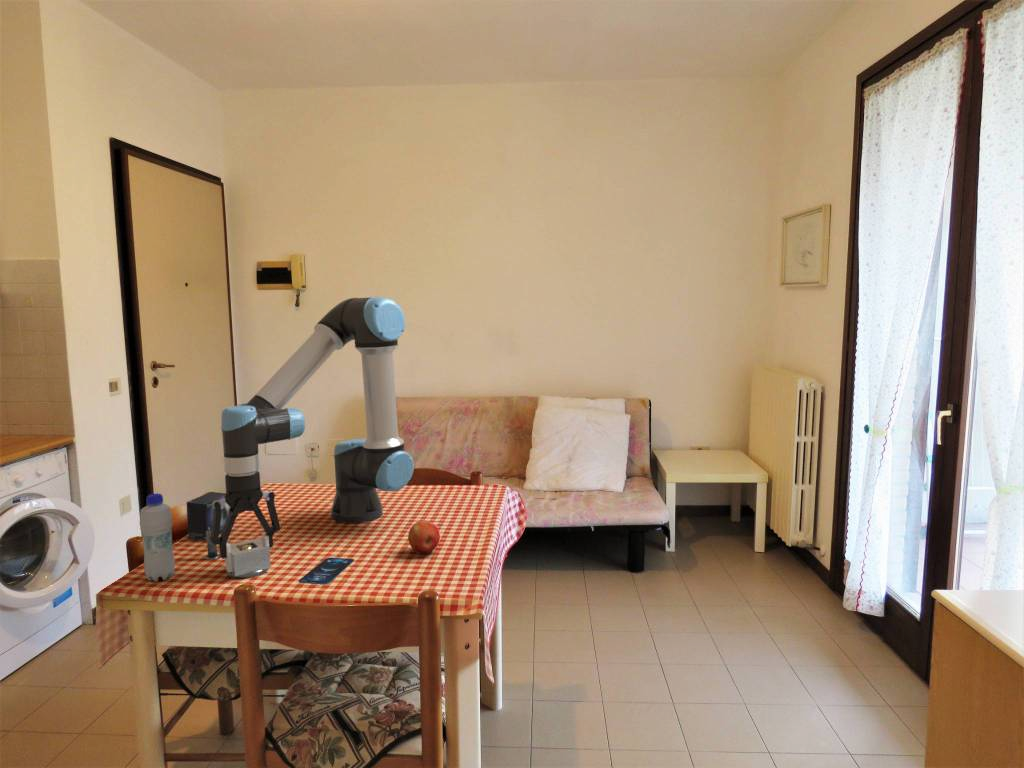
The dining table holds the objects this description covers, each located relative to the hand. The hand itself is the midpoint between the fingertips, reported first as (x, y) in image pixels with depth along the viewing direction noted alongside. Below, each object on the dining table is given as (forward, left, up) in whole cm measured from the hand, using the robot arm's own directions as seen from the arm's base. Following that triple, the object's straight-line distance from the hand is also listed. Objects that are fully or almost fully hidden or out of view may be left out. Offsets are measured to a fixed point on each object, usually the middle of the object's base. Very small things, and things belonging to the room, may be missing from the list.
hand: (248, 565), depth 155 cm
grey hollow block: (0, 0, 0) cm, 0 cm away
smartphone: (-19, +1, -2) cm, 19 cm away
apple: (-41, -9, -2) cm, 42 cm away
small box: (+20, -27, -2) cm, 34 cm away
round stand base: (0, 0, -1) cm, 1 cm away
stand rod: (+12, -9, -1) cm, 15 cm away
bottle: (+19, +3, -2) cm, 20 cm away
